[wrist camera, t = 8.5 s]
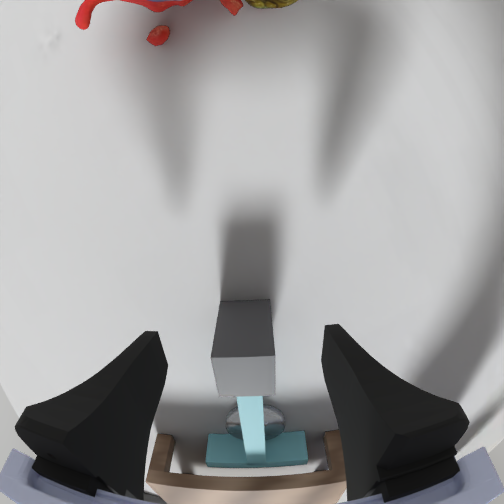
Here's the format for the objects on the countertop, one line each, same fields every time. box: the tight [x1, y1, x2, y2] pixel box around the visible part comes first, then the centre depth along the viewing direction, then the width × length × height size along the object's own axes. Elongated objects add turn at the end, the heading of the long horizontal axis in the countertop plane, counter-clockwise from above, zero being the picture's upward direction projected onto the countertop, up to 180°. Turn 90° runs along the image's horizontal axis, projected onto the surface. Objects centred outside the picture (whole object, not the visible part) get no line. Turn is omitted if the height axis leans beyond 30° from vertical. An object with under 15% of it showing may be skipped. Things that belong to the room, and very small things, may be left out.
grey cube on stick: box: [206, 299, 308, 468], centre depth 18 cm, size 9×16×5 cm, turn 3°
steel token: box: [226, 404, 285, 440], centre depth 22 cm, size 5×5×1 cm
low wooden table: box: [146, 430, 347, 504], centre depth 23 cm, size 18×12×6 cm, turn 93°
